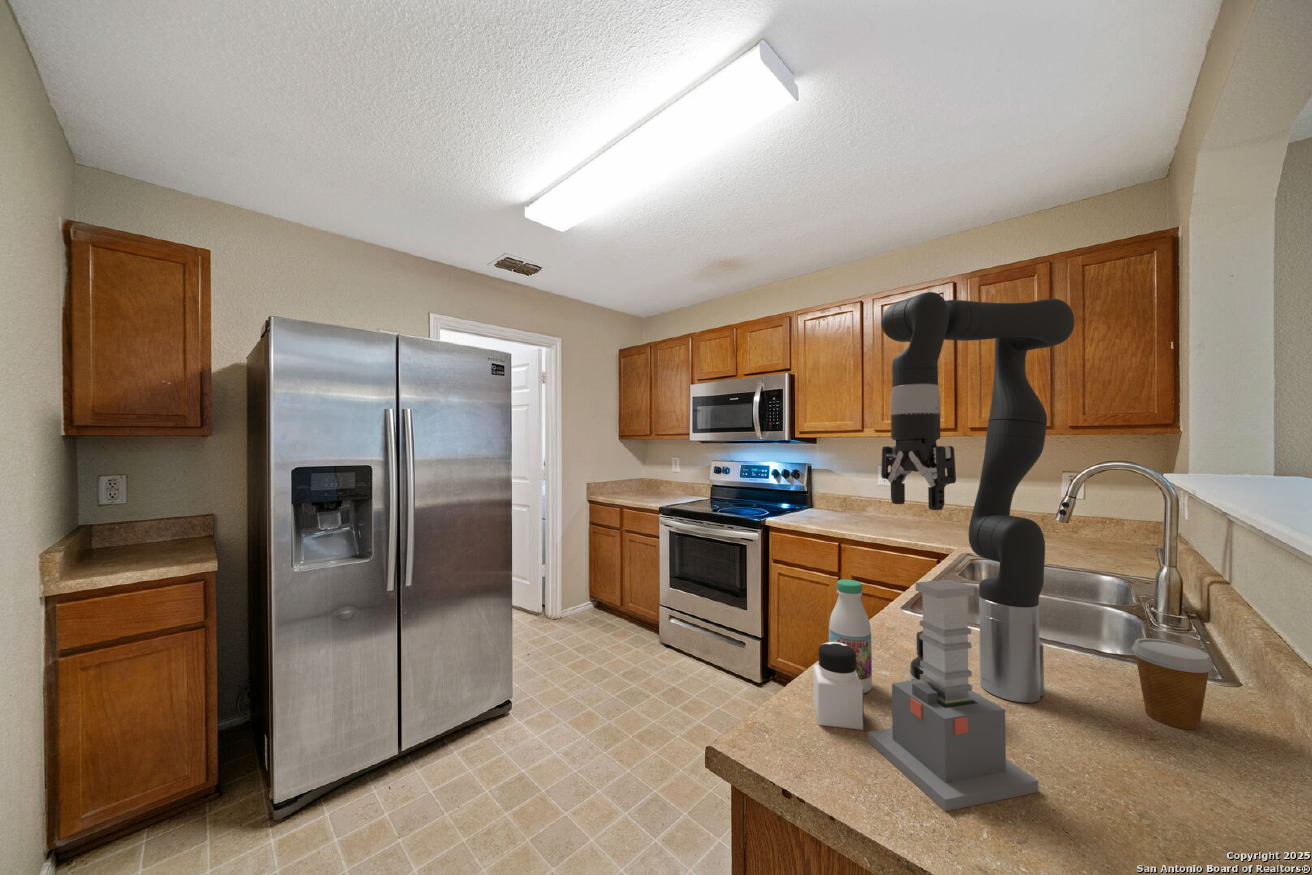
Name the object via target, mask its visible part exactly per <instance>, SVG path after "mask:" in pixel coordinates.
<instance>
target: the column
mask: <svg viewBox="0 0 1312 875" xmlns="http://www.w3.org/2000/svg"><path fill="white" fill-rule="evenodd" d="M915 591H916V592H918V593H922V594H921V595H922V619H921V620H919V626H920V627H922V631H923V634H920V639H921V640H923V661H920V666H922V667H923V674H920V679H921V680H923V684H925V685H926V686H928V687H929V688H931V689H933V690H934V691H936V692H937V693H938V704H940V705H941V706H943V707H944V708H949V707H956V706H962V705H969V704H972V699H970V698H969V693H968V691H973V685H972V684H970V683H969V678H970V677H972V676H973V674H972V673H973V672H972V670H970V669H969V649H972V643H971V642H969V635H972V628H971V627H969V626H968V621H969V620H968V618H969V616H968V615H969V614H968V613H969V612H968V597H973V596H975V586H971V585H968V584H965V583H963V582H959V581H956V580H953V579H944V580H943V579H942V580H929V581H918V582H916V581H915Z"/></svg>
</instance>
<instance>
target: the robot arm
mask: <svg viewBox="0 0 1312 875" xmlns="http://www.w3.org/2000/svg"><path fill="white" fill-rule="evenodd" d="M880 326H881V329H882V331H883V333H884V334H885V335H886V336H887V337H888V338H889V339H891V340H893V341H895V342H899V343H909V345H908V346H907V348H906V349H905V350H903V351H901V352H900V353H898V354H897V355H895V356H894V357H893V359H892V363H891V377H892V378H891V379H892V380H891V387H892V388H891V396H890V439H892V440H893V441H895V445H894V446H893V445H890V446H889V445H884V446H883V447H882V449H881V472H880V475H881V478H882V479H886V480H887V481H888V482H889V483H890V499H891V503H892V504H893V505H905V502H906V494H905V493H906V489H905V488H906V487H905V485H906V484H905V483H904V482H905V480H906V478H907V476H908V475H909V474H911V473H912V472H916V473H919V474H920V475H921V477H924V479H925V480H926V483H927V484H928V487H927V489H928V490H927V491H928V496H927V498H928V499H927V500H928V501H927V502H928V510H932V511H942V510H943V509H944V506H945V487H946V486H947V485H951V484H955V483H956V481H957V472H956V458H955V448H954V446H952V445H944V446H943V445H937V440H940V438H941V397H940V389H939V365H938V364H939V358H940V355H941V352H942V349H943V345H944V341H945V340H946V341H959V342H960V341H961V342H962V341H965V342H967V341H983V340H984V341H985V340H992V339H994V370H993V374H994V375H993V386H992V395H991V404H990V408H989V409H990V410H989V414H988V419H987V420H988V422H987V429H986V436H985V446H984V455H983V456H984V457H983V462H982V469H981V474H980V480H979V486H978V491H977V493H976V497H975V501H974V504H973V509H972V513H971V517H970V520H969V525H968V526H969V527H968V542H969V546H970V548H971V550H972V551H973V553H975V555H977V556H978V557H980V558H983V559H986V560H990V561H993V562H996V563H999V567H998V568H999V569H998V575H997V577H991V578H990V577H989V578H985V579H983V580H980V582H979V584H978V596H979V597H978V601H979V602H978V609H979V615H978V616H979V682H980V683H979V684H980V686H981V688H982V689H984V690H985V692H988V693H989V694H991V695H994V696H996V697H999V698H1000V699H1004V700H1006V701H1007V700H1008V701H1012V702H1018V703H1026V704H1027V703H1029V704H1030V703H1036V702H1039V700H1040V699H1041V697H1042V696H1045V675H1044V674H1045V672H1044V671H1045V670H1044V669H1045V668H1044V667H1045V666H1044V665H1045V664H1044V663H1045V662H1044V661H1045V660H1044V645H1043V643H1042V642H1040V595H1041V592H1042V590H1043V587H1044V584H1045V583H1044V581H1045V580H1044V579H1045V578H1044V576H1045V563H1046V562H1045V561H1046V560H1045V559H1046V541H1045V535H1044V532H1043V530H1042V529H1041V527H1040V525H1039V524H1038V523H1037V522H1035V521H1034V520H1032V519H1030V518H1026V517H1021V516H1015V515H1010V514H1011V507H1012V502H1013V497H1014V494H1015V492H1016V489H1017V487H1018V486H1019V484H1020V483H1021V481H1022V480H1023V479H1024V477H1026V475H1027V474H1029V471H1030V470H1031V469H1032V468H1033V466H1035V465H1036V463H1037V461H1038V460H1039V458H1040V457H1041V455H1042V452H1043V451H1044V446H1045V442H1046V432H1047V425H1048V415H1047V412H1046V409H1045V407H1044V405H1043V403H1042V402H1041V400H1040V398H1039V397H1038V395H1037V393H1036V392H1035V391H1034V389H1033V387H1032V386H1031V384H1030V382H1029V380H1028V377H1027V372H1026V359H1027V358H1026V357H1027V353H1028V351H1032V350H1038V349H1047V348H1051V347H1055V346H1057V345H1060V344H1063V343H1064V342H1065V341H1067V340H1068V339H1069V338H1070V336H1071V335H1072V334H1073V331H1074V327H1075V315H1074V312H1073V310H1072V308H1071V307H1070V305H1069V304H1068V303H1066V301H1064V300H1062V299H1058V298H1043V299H1038V300H1034V301H1031V302H1029V301H1028V302H985V301H984V302H983V301H972V300H961V299H948V300H947V299H945V298H944V297H943V295H940V294H939V293H937V292H934V291H926V292H922V293H919V294H917V295H915V296H910V297H908V298H906V299H902V300H900V301H898V302H895V303H892V304H891V305H890V306H888V307H887V308H886V309H885V311H883V314H882V315H881V319H880ZM889 466H890V471H889Z"/></svg>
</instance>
